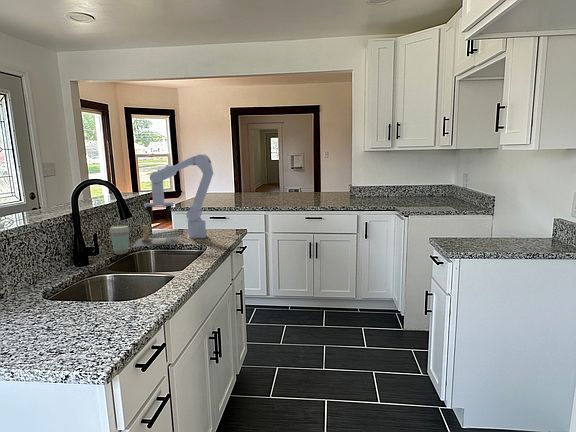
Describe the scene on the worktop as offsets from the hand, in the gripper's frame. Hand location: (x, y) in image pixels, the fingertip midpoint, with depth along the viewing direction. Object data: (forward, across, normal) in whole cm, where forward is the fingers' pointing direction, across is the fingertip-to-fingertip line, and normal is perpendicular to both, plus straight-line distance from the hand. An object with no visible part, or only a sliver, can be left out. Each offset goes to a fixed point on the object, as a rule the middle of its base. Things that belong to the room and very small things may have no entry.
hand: (159, 220), depth 204 cm
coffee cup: (+10, -14, -29) cm, 34 cm away
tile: (+8, +1, -12) cm, 14 cm away
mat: (+9, -1, -11) cm, 15 cm away
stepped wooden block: (+9, -6, -9) cm, 14 cm away
